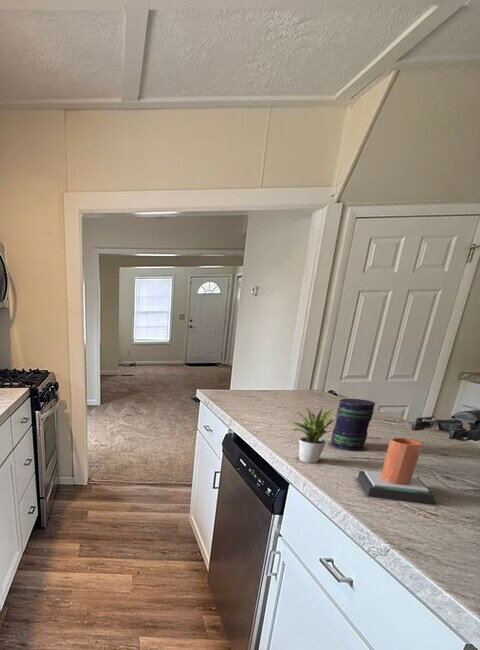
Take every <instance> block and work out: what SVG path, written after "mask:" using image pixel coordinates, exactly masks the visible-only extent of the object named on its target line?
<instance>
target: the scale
mask: <svg viewBox="0 0 480 650" xmlns="http://www.w3.org/2000/svg"><path fill="white" fill-rule="evenodd" d="M380 475H381V471H372V470H359V471H358V475H357V480H358V482H359V484H360V485H361V487H362V489H363V490H364V492H365V493H366V496H367V497H374V498H381V499H388V500H389V499H391V500H398V501H406V502H412V503H413V502H414V503H420V504H421V503H422V504H430V505H433V503H434V500H435V497H436V494H435V493H433V491H432V490H431V489H430V488H428V486H427V485H426V484H425V483H424V482H423V481H422V480H421V479H420V478H419V477H418V476H416V475H413V476H412V479H411V482H410V484H407V485H400V484H393V483H389V482H386V481H384V480H382V479H381V478H380Z"/></svg>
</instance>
